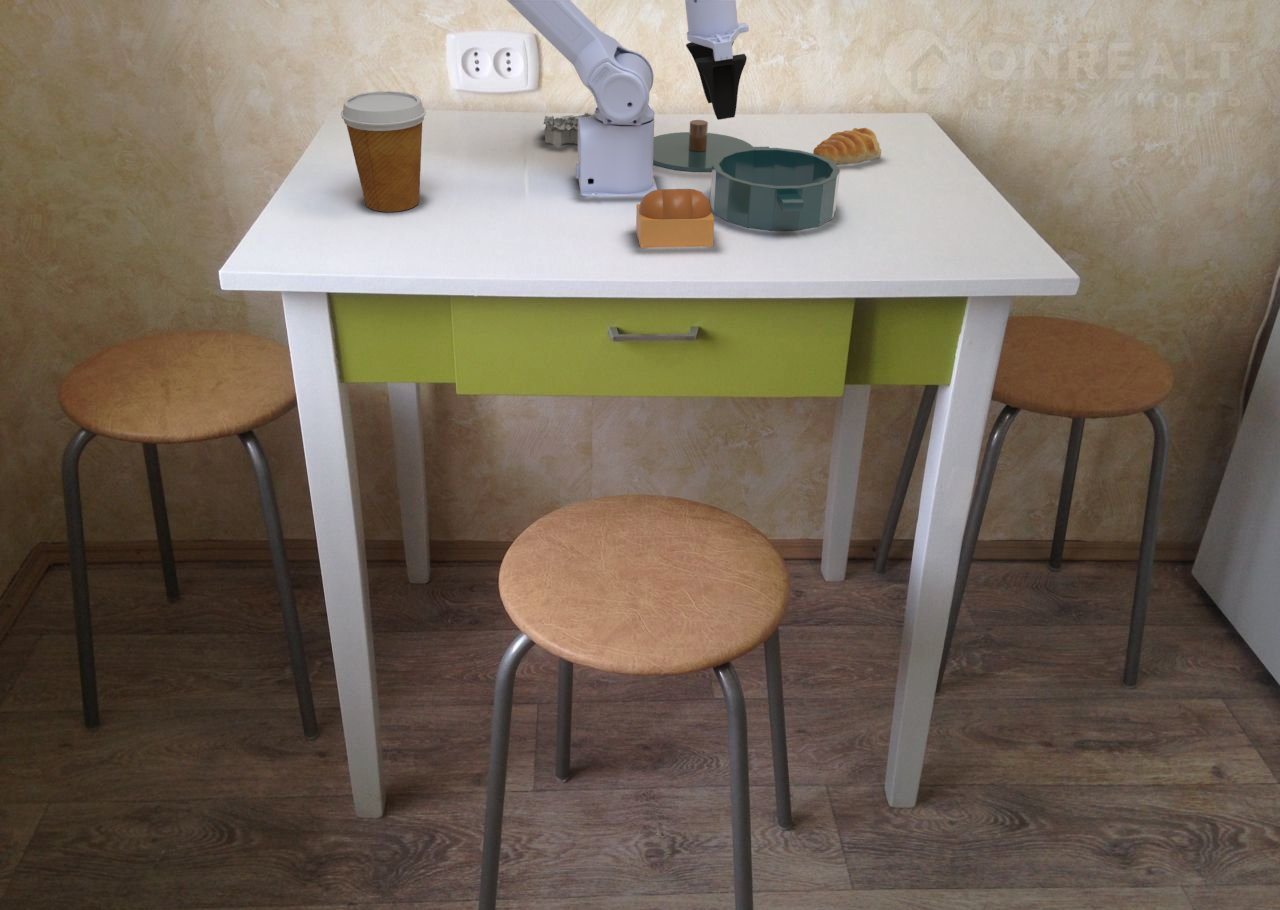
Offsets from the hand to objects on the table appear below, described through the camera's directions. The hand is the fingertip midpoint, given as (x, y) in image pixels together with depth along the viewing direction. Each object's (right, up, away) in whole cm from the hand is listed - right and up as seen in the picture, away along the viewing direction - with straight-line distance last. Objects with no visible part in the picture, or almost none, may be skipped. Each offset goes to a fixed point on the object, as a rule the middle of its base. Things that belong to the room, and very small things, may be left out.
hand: (720, 109), depth 136 cm
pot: (+6, -12, 0) cm, 14 cm away
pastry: (+18, -2, +17) cm, 25 cm away
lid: (-2, -1, +17) cm, 17 cm away
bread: (-6, -17, -9) cm, 20 cm away
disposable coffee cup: (-39, -11, 0) cm, 41 cm away
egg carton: (-18, +2, +22) cm, 28 cm away
